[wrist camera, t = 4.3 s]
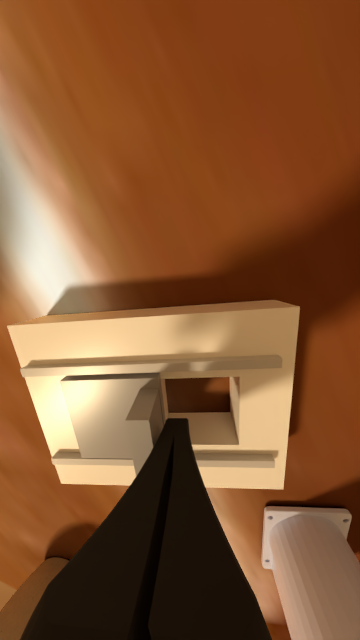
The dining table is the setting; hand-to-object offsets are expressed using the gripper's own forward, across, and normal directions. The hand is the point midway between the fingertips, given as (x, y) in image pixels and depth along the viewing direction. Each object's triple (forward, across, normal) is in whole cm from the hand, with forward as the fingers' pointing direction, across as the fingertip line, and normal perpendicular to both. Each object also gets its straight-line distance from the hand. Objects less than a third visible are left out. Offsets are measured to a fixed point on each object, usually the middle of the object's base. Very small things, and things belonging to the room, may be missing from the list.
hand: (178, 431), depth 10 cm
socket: (+4, +1, 0) cm, 4 cm away
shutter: (+1, +4, 0) cm, 5 cm away
